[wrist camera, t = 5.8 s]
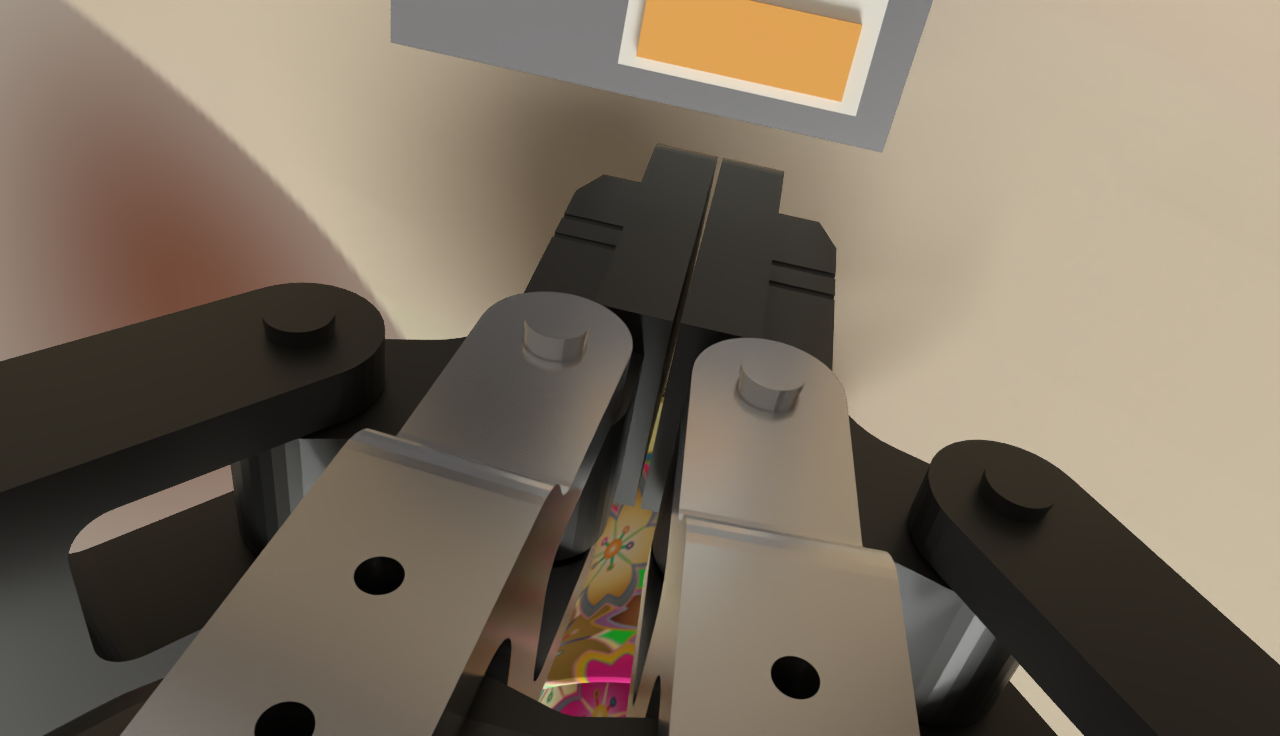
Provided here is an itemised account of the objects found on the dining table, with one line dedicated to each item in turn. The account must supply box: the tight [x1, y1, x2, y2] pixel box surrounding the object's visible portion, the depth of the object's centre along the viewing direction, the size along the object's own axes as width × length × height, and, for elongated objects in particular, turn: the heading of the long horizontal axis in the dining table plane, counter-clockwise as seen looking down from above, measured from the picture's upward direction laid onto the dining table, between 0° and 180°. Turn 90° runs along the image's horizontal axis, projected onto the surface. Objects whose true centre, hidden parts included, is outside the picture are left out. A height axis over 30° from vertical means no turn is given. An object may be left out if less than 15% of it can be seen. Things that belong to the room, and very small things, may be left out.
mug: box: [538, 397, 664, 717], centre depth 26 cm, size 12×9×11 cm
